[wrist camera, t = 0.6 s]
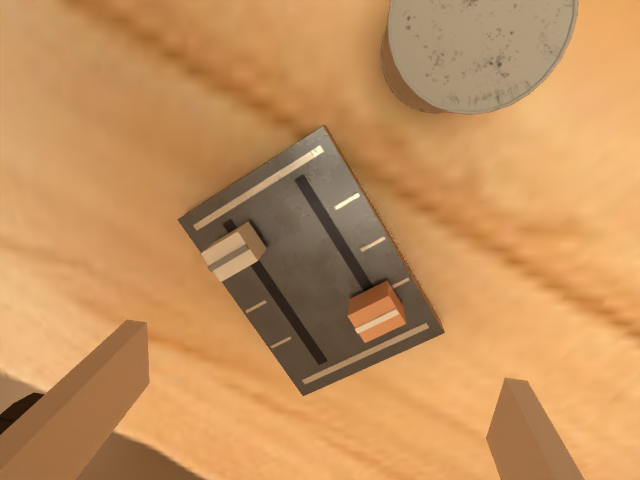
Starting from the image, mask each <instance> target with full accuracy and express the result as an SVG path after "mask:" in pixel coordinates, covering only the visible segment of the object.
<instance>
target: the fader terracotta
mask: <svg viewBox="0 0 640 480" xmlns="http://www.w3.org/2000/svg"><path fill="white" fill-rule="evenodd" d="M347 316H348V318H349V319H350V321H351V322H352V324H353V325H354V327H355V331H356V332H357V334H358V333H359V335H360V336H361V338H362V339H363V341H364V342H365V343H366V342H369V341H371V340H373V339H375V338H377V337H379V336H381V335H384V334H386V333H388V332H390V331H392V330H394V329H396V328H399V327H401V326H403V325H405V324H406V320H405V314H404V308H403V305H402V304H401V302H400V300H399V299H398V297H397V295H396V294H395V292H394V291H393V289H392V287H391V286H390V284H389V282H388V281H385V282H383V283H381V284H379V285H377V286H375V287H373V288H371V289H369V290H367V291H365V292H363V293H361V294H359V295H357V296H355V297H353V298H351V299H349V305H348V315H347Z"/></svg>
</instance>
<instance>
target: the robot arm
mask: <svg viewBox="0 0 640 480" xmlns="http://www.w3.org/2000/svg"><path fill="white" fill-rule="evenodd" d="M148 384H149V360H148V337H147V323H146V322H139V321H133V320H126V321H125V322H124V323H123V324H122V325H121V326H120V327H119V328H118V329H116V330H115V331H114V332H113V333H112V334H111V335H110V336H109V337H108V338H107V339H105V340H104V341H103V342H102V343H101V344H100V345H99V346H98V347H97V348H96V349H94V350H93V351H92V352H91V353H90V354H89V355H88V356H87V357H86V358H85V359H83V360H82V361H81V362H80V363H79V364H78V365H77V366H76V367H75V368H74V369H72V370H71V371H70V372H69V373H68V374H67V375H66V376H65V377H64V378H63V379H61V380H60V381H59V382H58V383H57V384H56V385H55V386H54V387H53V388H52V389H50V390H49V391H48V392H47V393H46V394H39V393H32V394H30V395H28V396H26V397H25V398H23V399H21V400H19V401H17V402H15V403H13V404H12V405H11V406H10V407H9V408H8V409H6V410H5V411H4V412H3V413H2V414H1V415H0V480H75V479H76V478H77V477H78V475H79V474H80V472H81V471H82V470H83V469H84V467H85V466H86V465H87V464H88V462H89V461H90V460H91V458H92V457H93V456H94V455H95V453H96V452H97V450H98V449H99V448H100V447H101V445H102V444H103V443H104V441H105V440H106V439H107V437H108V436H109V435H110V434H111V432H112V431H113V430H114V429H115V427H116V426H117V425H118V423H119V422H120V421H121V420H122V418H123V417H124V416H125V414H126V413H127V412H128V410H129V409H130V408H131V407H132V405H133V404H134V403H135V401H136V400H137V399H138V397H139V396H140V395H141V394H142V392H143V391H144V390H145V388H146V387H147V386H148ZM486 439H487V442H488V445H489V448H490V450H491V453H492V456H493V459H494V462H495V464H496V467H497V470H498V473H499V476H500V478H501V480H585V479H584V478H583V476H582V474H581V473H580V471H579V469H578V467H577V466H576V464H575V462H574V461H573V459H572V457H571V455H570V454H569V452H568V450H567V449H566V447H565V445H564V443H563V442H562V440H561V438H560V436H559V435H558V433H557V431H556V430H555V428H554V426H553V424H552V423H551V421H550V419H549V418H548V416H547V414H546V412H545V411H544V409H543V407H542V405H541V404H540V402H539V400H538V399H537V397H536V395H535V393H534V392H533V390H532V388H531V387H530V385H529V383H528V381H524V380H517V379H511V378H505V379H504V383H503V386H502V389H501V392H500V395H499V399H498V402H497V405H496V408H495V411H494V415H493V418H492V421H491V424H490V427H489V431H488V434H487V437H486Z"/></svg>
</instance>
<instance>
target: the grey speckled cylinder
mask: <svg viewBox="0 0 640 480" xmlns="http://www.w3.org/2000/svg"><path fill="white" fill-rule="evenodd" d="M577 16H578V0H390V7H389V14H388V21H387V27H386V31H385V34H384V36H383V41H382V48H381V62H382V69H383V72H384V76H385V79H386V81H387V83H388V85H389V87H390V88H391V90H392V92H393V93H394V94H395V95H396V96H397V97H398V98H399V99H400V100H401V101H402V102H404V103H405V104H407V105H408V106H410V107H411V108H414V109H417V110H419V111H422V112H429V113H442V112H450V113H459V114H468V115H472V114H480V113H489V112H493V111H496V110H498V109H501V108H504V107H507V106H510V105H512V104H514V103H515V102H517V101H519V100H520V99H522V98H524V97H525V96H527V95H529V94H530V93H531V92H532V91H533V90H534V89H536V88H537V87H538V86H539V85H540V84H541V83H542V82H543V81H544V80H546V79H547V77H548V76H549V75H550V73H551V72H552V71H553V69H554V68H555V67H556V65H557V64H558V63H559V62H560V60H561V58H562V56H563V54H564V52H565V50H566V48H567V46H568V44H569V42H570V40H571V38H572V34H573V30H574V27H575V23H576V19H577Z"/></svg>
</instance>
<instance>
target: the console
mask: <svg viewBox="0 0 640 480" xmlns="http://www.w3.org/2000/svg"><path fill="white" fill-rule="evenodd" d="M178 221H179V222H180V224H181V225H182V226H183V228H184V229H185V231H186V232H187V234H188V235H189V236H190V238H191V239H192V241H193V242H194V243H195V245H196V246H197V248H198V249H199V250H200V252H201V253H202V252H203V251H204V250H205V249H207V248H208V247H209V246H210V245H211V244H212V243H214V242H215V241H217V240H218V239H220V238H222V237H223V236H225V235H227V234H228V233H230V232H232V231H233V230H235V229H237V228H238V227H240V226H241V225H243V224H245V223H246V222H248V221H249V223H250V224H251V226H252V227H253V229H254V230H255V232H256V233H257V235H258V236H259V238H260V239H261V241H262V242H263V244H264V245H265V247H266V248H267V249H266V251H265V252H264V253H263V255H262V256H261V257H260V259H259V260H258V261H257V262H255V263H253V264H252V265H250V266H248V267H246V268H245V269H243V270H241V271H239V272H238V273H236V274H234V275H232V276H231V277H229V278H227V279H225V280H224V281H222V283H223V284H224V286H225V287H226V288H227V290H228V291H229V293H230V294H231V295H232V297H233V298H234V300H235V301H236V302H237V304H238V305H239V307H240V308H241V309H242V311H243V312H244V314H245V315H246V317H247V318H248V319H249V321H250V322H251V324H252V325H253V326H254V328H255V329H256V331H257V332H258V333H259V335H260V336H261V338H262V339H263V340H264V342H265V343H266V345H267V346H268V347H269V349H270V350H271V352H272V353H273V354H274V356H275V357H276V359H277V360H278V362H279V363H280V364H281V366H282V367H283V369H284V370H285V371H286V373H287V374H288V376H289V377H290V378H291V380H292V381H293V383H294V384H295V385H296V387H297V388H298V390H299V391H300V392H301V394H302V395H303V396H305V395H307V394H309V393H312V392H314V391H316V390H318V389H321V388H323V387H325V386H327V385H329V384H332V383H334V382H336V381H338V380H341V379H343V378H345V377H347V376H350V375H352V374H354V373H356V372H358V371H361V370H363V369H365V368H367V367H370V366H372V365H374V364H376V363H379V362H381V361H383V360H385V359H387V358H390V357H392V356H394V355H396V354H399V353H401V352H403V351H405V350H408V349H410V348H412V347H414V346H416V345H419V344H421V343H423V342H425V341H428V340H430V339H432V338H434V337H437V336H439V335H441V334H443V333H445V332H444V329H443V326H442V323H441V321H440V319H439V318H438V316H437V314H436V313H435V311H434V309H433V307H432V306H431V304H430V302H429V301H428V299H427V297H426V296H425V294H424V292H423V291H422V289H421V287H420V285H419V284H418V282H417V280H416V279H415V277H414V275H413V274H412V272H411V270H410V268H409V267H408V265H407V263H406V262H405V260H404V258H403V257H402V255H401V253H400V251H399V250H398V248H397V246H396V245H395V243H394V241H393V240H392V238H391V236H390V234H389V233H388V231H387V229H386V228H385V226H384V224H383V223H382V221H381V219H380V217H379V216H378V214H377V212H376V211H375V209H374V207H373V206H372V204H371V202H370V200H369V199H368V197H367V195H366V194H365V192H364V190H363V189H362V187H361V185H360V183H359V182H358V180H357V178H356V177H355V175H354V173H353V172H352V170H351V168H350V166H349V165H348V163H347V161H346V160H345V158H344V156H343V155H342V153H341V151H340V149H339V148H338V146H337V144H336V143H335V141H334V139H333V138H332V136H331V134H330V133H329V131H328V129H327V127H326V126H322V127H321V128H319V129H318V130H316V131H315V132H313V133H311V134H310V135H308V136H307V137H305V138H304V139H302V140H301V141H299V142H297V143H296V144H294V145H293V146H291V147H290V148H288V149H287V150H285V151H283V152H282V153H280V154H279V155H277V156H276V157H274V158H273V159H271V160H269V161H268V162H266V163H265V164H263V165H262V166H260V167H259V168H257V169H255V170H254V171H252V172H251V173H249V174H248V175H246V176H245V177H243V178H241V179H240V180H238V181H237V182H235V183H234V184H232V185H231V186H229V187H227V188H226V189H224V190H223V191H221V192H220V193H218V194H217V195H215V196H213V197H212V198H210V199H209V200H207V201H206V202H204V203H203V204H201V205H199V206H198V207H196V208H195V209H193V210H192V211H190V212H189V213H187V214H185V215H184V216H182V217H181V218H179V219H178ZM385 281H388V282H389V284H390V286H391V287H392V289H393V291H394V292H395V294H396V295H397V297H398V299H399V300H400V302H401V304H402V305H403V308H404V314H405V320H406V324H405V325H403V326H401V327H399V328H396V329H394V330H392V331H390V332H388V333H386V334H384V335H381V336H379V337H377V338H375V339H373V340H371V341H369V342H366V343H365V342H364V341H363V339H362V338H361V336H360V335H359V333H358V334H357V332H356V331H355V327H354V325H353V324H352V322H351V321H350V319H349V318H348V316H347V315H348V305H349V299H351V298H353V297H355V296H357V295H359V294H361V293H363V292H365V291H367V290H369V289H371V288H373V287H375V286H377V285H379V284H381V283H383V282H385Z"/></svg>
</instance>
